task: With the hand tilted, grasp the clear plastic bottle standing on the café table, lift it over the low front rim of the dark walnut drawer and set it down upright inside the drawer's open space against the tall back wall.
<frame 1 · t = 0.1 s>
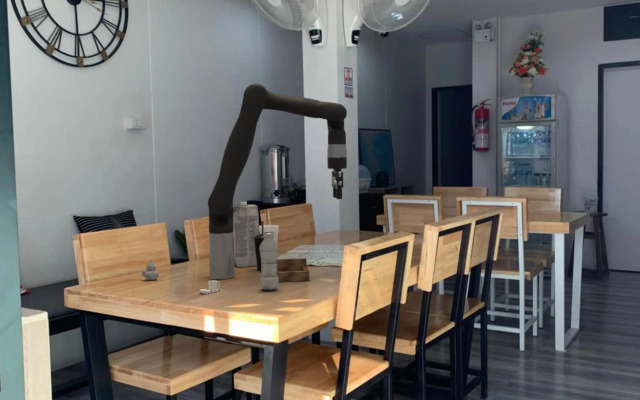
hand: (337, 198, 247), 29 cm above the table, tool pointing down, fingers open, 8 cm apart
plastic bottle: (269, 290, 219), on the table
drawer: (289, 278, 239), on the table
teacup and saucer: (205, 293, 219), on the table
drinking cup: (263, 270, 258), on the table
juice carton: (246, 266, 270), on the table
rubber duck: (150, 280, 241), on the table
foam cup: (269, 253, 304), on the table
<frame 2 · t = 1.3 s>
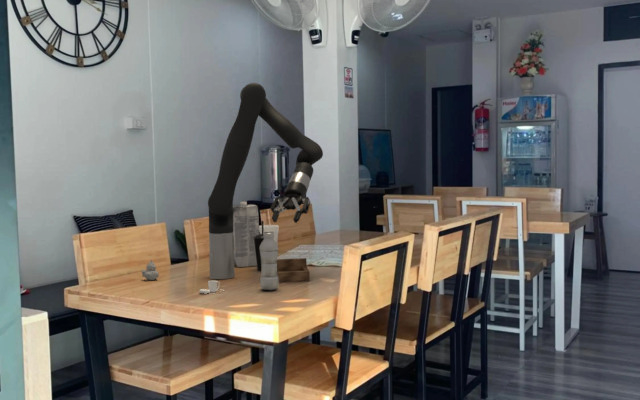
hand: (284, 221, 229), 23 cm above the table, tool tilted 45°, fingers open, 8 cm apart
nothing on the table moved.
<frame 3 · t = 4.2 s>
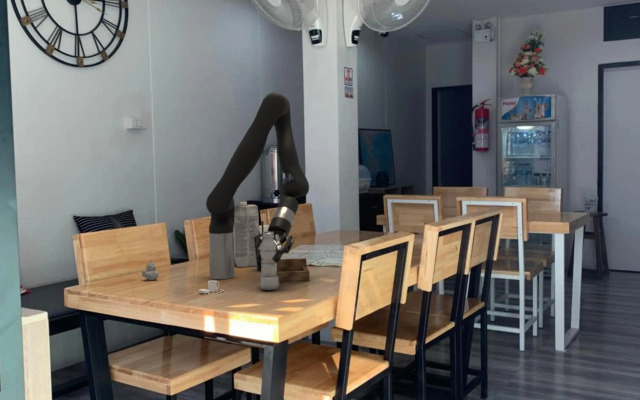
hand: (266, 260, 217), 10 cm above the table, tool tilted 45°, fingers closed on plastic bottle, 6 cm apart
plastic bottle: (269, 290, 219), on the table, touching gripper
everything else where it was.
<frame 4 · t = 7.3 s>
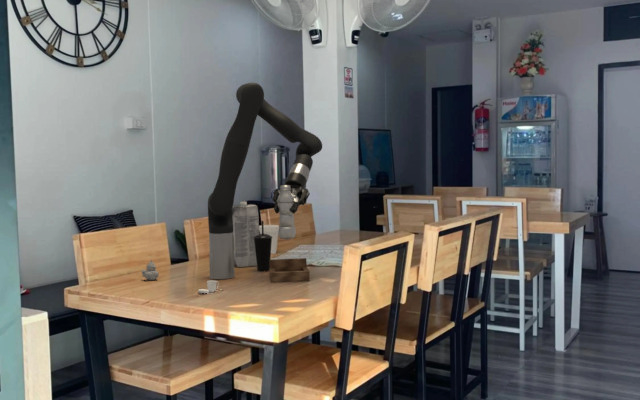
hand: (284, 212, 234), 25 cm above the table, tool tilted 45°, fingers closed on plastic bottle, 6 cm apart
plastic bottle: (287, 239, 236), point 15 cm above the table, touching gripper
everything else where it was.
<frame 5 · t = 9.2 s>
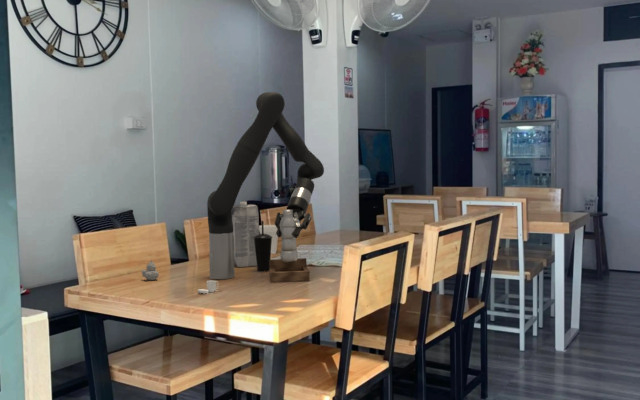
hand: (286, 236, 237), 16 cm above the table, tool tilted 45°, fingers closed on plastic bottle, 6 cm apart
plastic bottle: (289, 263, 239), point 6 cm above the table, touching gripper
everything else where it was.
when the fingers open (12 cm above the table, at t = 10.6 s): plastic bottle drops 1 cm, resting on drawer.
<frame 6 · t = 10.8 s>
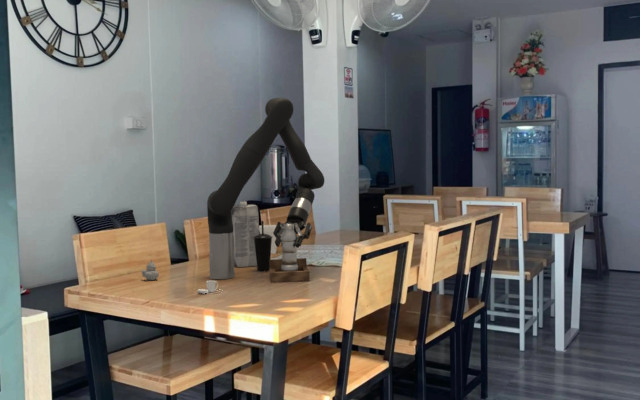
hand: (286, 245, 237), 13 cm above the table, tool tilted 45°, fingers open, 8 cm apart
plastic bottle: (289, 277, 239), resting on drawer
everything else where it was.
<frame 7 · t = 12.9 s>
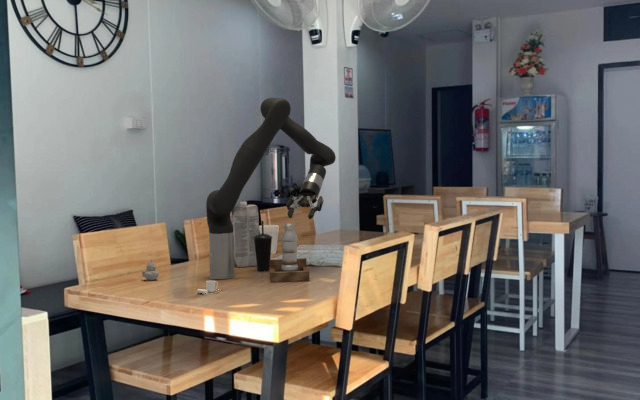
hand: (299, 217, 248), 22 cm above the table, tool tilted 45°, fingers open, 8 cm apart
nothing on the table moved.
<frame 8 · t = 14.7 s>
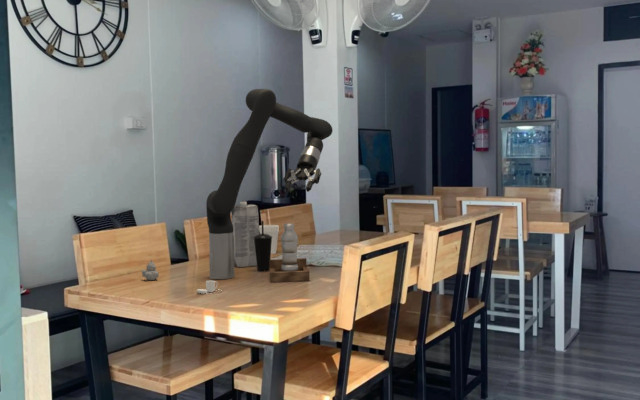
hand: (297, 190, 246), 33 cm above the table, tool tilted 45°, fingers open, 8 cm apart
nothing on the table moved.
at the end: plastic bottle inside the target area on the drawer (0.4 cm from its centre), point 0.4 cm above the drawer's base; plastic bottle tilted 0°; the gripper is holding nothing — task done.
